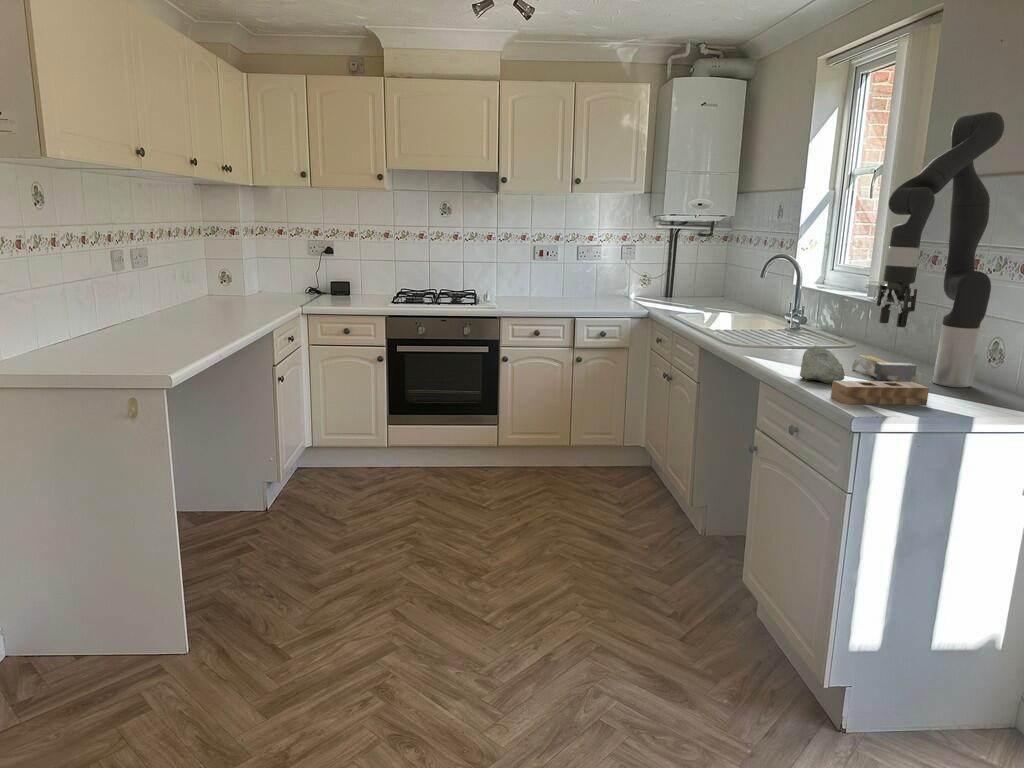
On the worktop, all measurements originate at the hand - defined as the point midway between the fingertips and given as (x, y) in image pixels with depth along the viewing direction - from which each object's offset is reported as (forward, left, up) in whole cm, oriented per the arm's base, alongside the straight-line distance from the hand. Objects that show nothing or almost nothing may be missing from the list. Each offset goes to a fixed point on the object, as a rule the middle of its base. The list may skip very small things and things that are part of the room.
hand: (892, 325), depth 194 cm
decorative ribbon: (-10, -15, -19) cm, 26 cm away
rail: (+8, +11, -19) cm, 23 cm away
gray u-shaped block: (-2, +1, -19) cm, 19 cm away
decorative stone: (+12, -12, -19) cm, 25 cm away
